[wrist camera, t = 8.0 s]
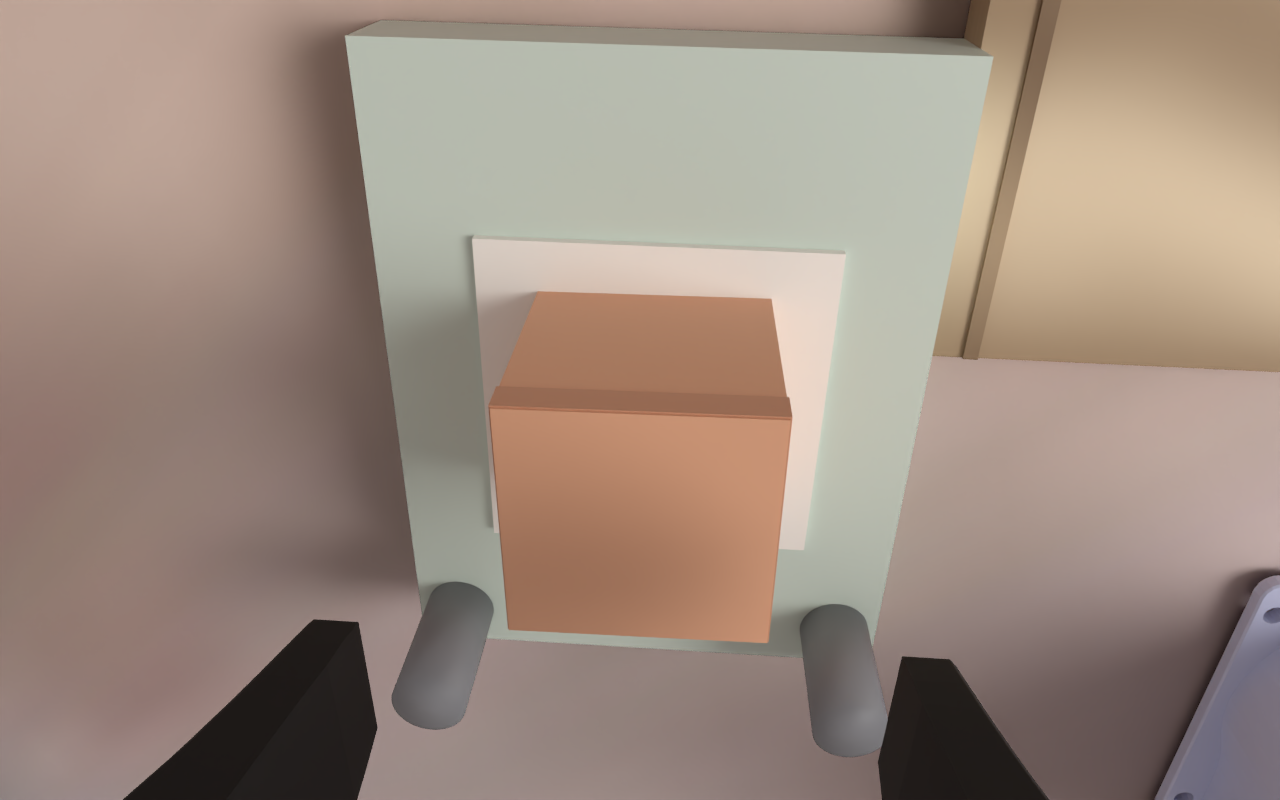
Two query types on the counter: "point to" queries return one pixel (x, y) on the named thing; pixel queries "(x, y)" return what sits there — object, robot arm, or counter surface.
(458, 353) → the dock
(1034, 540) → the counter surface
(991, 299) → the pallet
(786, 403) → the orange block
